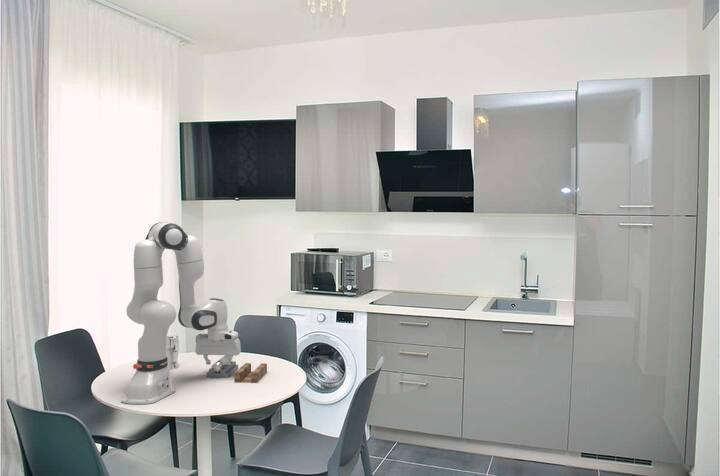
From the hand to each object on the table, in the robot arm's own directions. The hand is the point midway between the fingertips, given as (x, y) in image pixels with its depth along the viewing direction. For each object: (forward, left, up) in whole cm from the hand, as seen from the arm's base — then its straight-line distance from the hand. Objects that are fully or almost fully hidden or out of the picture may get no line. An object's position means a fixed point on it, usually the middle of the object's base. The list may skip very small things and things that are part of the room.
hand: (218, 364), depth 253 cm
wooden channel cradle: (0, -15, -6) cm, 16 cm away
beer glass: (+15, +29, -7) cm, 33 cm away
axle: (+5, 0, -2) cm, 5 cm away
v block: (+5, 0, -6) cm, 8 cm away
